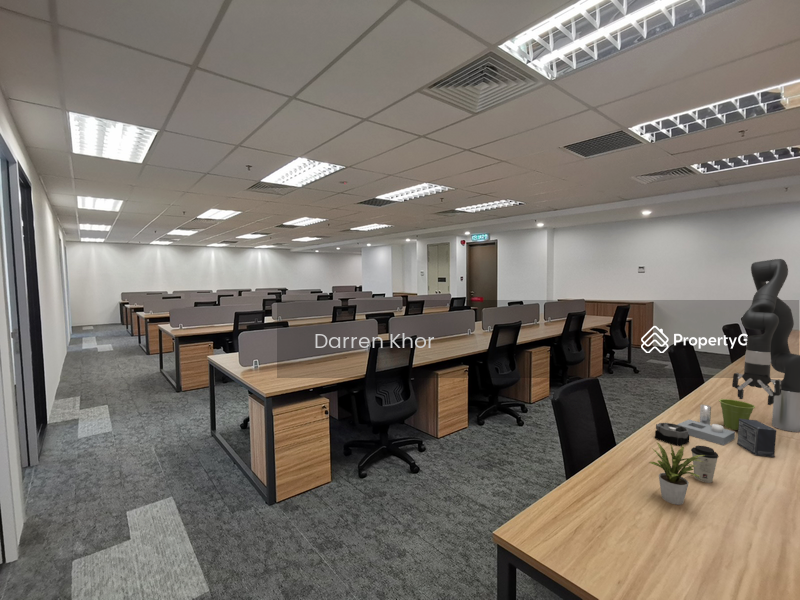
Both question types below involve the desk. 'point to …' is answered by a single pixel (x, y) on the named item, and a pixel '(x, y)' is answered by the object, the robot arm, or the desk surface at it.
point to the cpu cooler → (672, 434)
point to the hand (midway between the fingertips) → (755, 401)
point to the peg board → (708, 432)
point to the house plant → (674, 475)
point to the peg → (705, 414)
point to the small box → (756, 437)
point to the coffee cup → (704, 463)
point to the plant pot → (735, 412)
